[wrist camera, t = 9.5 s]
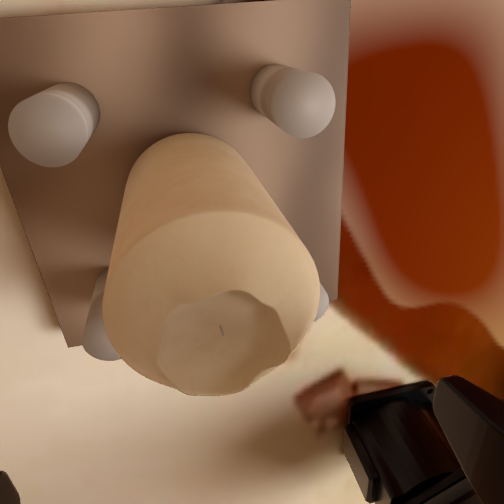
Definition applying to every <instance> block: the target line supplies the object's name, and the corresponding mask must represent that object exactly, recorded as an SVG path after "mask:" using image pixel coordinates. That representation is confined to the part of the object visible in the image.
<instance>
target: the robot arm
mask: <svg viewBox="0 0 504 504" xmlns="http://www.w3.org/2000/svg"><path fill="white" fill-rule="evenodd" d="M343 451H344V453H345V457H346V459H347V461H348V462H349V464H350V467H351V469H352V471H353V473H354V476H355V478H356V480H357V482H358V485H359V487H360V489H361V491H362V494H363V496H364V498H365V500H366V501H367V502H369V503H374V502H375V504H504V401H503V400H502V399H500V398H498V397H496V396H494V395H493V394H491V393H489V392H487V391H486V390H484V389H482V388H480V387H479V386H477V385H475V384H473V383H471V382H470V381H468V380H466V379H464V378H463V377H461V376H458V375H452V376H447V377H442V378H440V379H439V380H438V382H437V386H436V387H435V386H434V384H433V383H432V382H426V383H422V384H417V385H413V386H408V387H403V388H399V389H394V390H390V391H385V392H380V393H376V394H371V395H367V396H362V397H358V398H354V399H352V400H351V401H350V402H349V404H348V416H347V425H346V426H345V428H344V440H343ZM0 504H20V497H19V494H18V492H17V490H16V488H15V487H14V485H13V483H12V481H11V480H10V478H9V476H8V474H7V473H6V472H4V471H0Z"/></svg>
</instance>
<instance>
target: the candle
mask: <svg viewBox="0 0 504 504" xmlns="http://www.w3.org/2000/svg"><path fill="white" fill-rule="evenodd" d="M319 299H320V282H319V276H318V272H317V269H316V266H315V263H314V261H313V259H312V257H311V255H310V253H309V251H308V250H307V248H306V247H305V245H304V244H303V242H302V241H301V240H300V238H299V237H298V235H297V234H296V232H295V231H294V230H293V228H292V227H291V225H290V224H289V222H288V221H287V220H286V218H285V217H284V215H283V214H282V212H281V211H280V210H279V208H278V207H277V205H276V204H275V203H274V201H273V200H272V198H271V197H270V195H269V194H268V193H267V191H266V190H265V188H264V187H263V185H262V184H261V183H260V181H259V180H258V178H257V177H256V175H255V174H254V173H253V171H252V170H251V168H250V167H249V166H248V164H247V163H246V162H245V160H244V159H243V158H242V157H241V155H240V154H239V153H238V152H237V151H236V150H235V149H233V148H232V147H231V146H229V145H228V144H226V143H225V142H223V141H221V140H219V139H217V138H214V137H212V136H208V135H204V134H198V133H182V134H176V135H172V136H169V137H166V138H164V139H161V140H159V141H158V142H156V143H154V144H153V145H151V146H150V147H149V148H148V149H147V150H145V151H144V152H143V153H142V154H141V156H140V157H139V158H138V159H137V161H136V162H135V164H134V165H133V167H132V169H131V171H130V173H129V176H128V179H127V183H126V186H125V191H124V196H123V201H122V206H121V211H120V216H119V220H118V225H117V230H116V235H115V240H114V245H113V250H112V255H111V260H110V264H109V269H108V274H107V279H106V284H105V290H104V295H103V301H102V316H103V322H104V328H105V330H106V333H107V336H108V339H109V341H110V342H111V344H112V346H113V348H114V349H115V351H116V352H117V353H118V355H119V356H120V357H121V359H122V360H124V361H125V362H126V363H127V364H128V365H129V366H130V367H131V368H132V369H134V370H135V371H137V372H138V373H139V374H141V375H143V376H145V377H146V378H148V379H150V380H153V381H155V382H158V383H160V384H163V385H166V386H169V387H172V388H175V389H177V390H179V391H181V392H182V393H185V394H188V395H192V396H220V395H229V394H234V393H237V392H240V391H242V390H244V389H245V388H247V387H248V386H249V385H250V384H252V383H253V382H255V381H256V380H258V379H260V378H261V377H263V376H265V375H266V374H268V373H269V372H271V371H272V370H273V369H275V368H276V367H278V366H279V365H281V364H282V363H284V362H285V361H286V360H287V358H288V357H289V356H290V355H291V354H292V353H293V352H294V351H295V350H296V349H297V348H298V346H299V345H300V344H301V342H302V341H303V340H304V338H305V337H306V335H307V333H308V332H309V330H310V328H311V326H312V324H313V322H314V319H315V317H316V313H317V310H318V306H319Z"/></svg>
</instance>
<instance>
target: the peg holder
mask: <svg viewBox="0 0 504 504" xmlns="http://www.w3.org/2000/svg"><path fill="white" fill-rule="evenodd" d="M350 8H351V0H274V1H259V2H243V3H227V4H212V5H196V6H181V7H165V8H150V9H134V10H119V11H103V12H87V13H72V14H56V15H41V16H25V17H10V18H0V166H1V169H2V172H3V174H4V177H5V180H6V182H7V185H8V188H9V190H10V193H11V196H12V198H13V201H14V204H15V206H16V209H17V212H18V214H19V217H20V220H21V223H22V225H23V228H24V231H25V233H26V236H27V239H28V241H29V244H30V247H31V249H32V252H33V255H34V257H35V260H36V263H37V265H38V268H39V271H40V273H41V276H42V279H43V281H44V284H45V287H46V289H47V292H48V295H49V298H50V300H51V303H52V306H53V308H54V311H55V314H56V316H57V319H58V322H59V324H60V327H61V330H62V332H63V335H64V338H65V340H66V343H67V346H68V348H69V347H74V346H80V345H83V347H84V349H85V351H86V352H87V353H88V354H90V355H91V356H92V357H94V358H97V359H100V360H105V361H113V360H118V359H121V357H120V356H119V355H118V353H117V352H116V351H115V349H114V348H113V346H112V344H111V342H110V341H109V339H108V336H107V333H106V330H105V328H104V322H103V316H102V301H103V295H104V290H105V284H106V279H107V274H108V269H109V264H110V260H111V255H112V250H113V245H114V240H115V235H116V230H117V225H118V220H119V216H120V211H121V206H122V201H123V196H124V191H125V186H126V183H127V179H128V176H129V173H130V171H131V169H132V167H133V165H134V164H135V162H136V161H137V159H138V158H139V157H140V156H141V154H142V153H143V152H144V151H145V150H147V149H148V148H149V147H150V146H151V145H153V144H154V143H156V142H158V141H159V140H161V139H164V138H166V137H169V136H172V135H176V134H182V133H198V134H204V135H208V136H212V137H214V138H217V139H219V140H221V141H223V142H225V143H226V144H228V145H229V146H231V147H232V148H233V149H235V150H236V151H237V152H238V153H239V154H240V155H241V157H242V158H243V159H244V160H245V162H246V163H247V164H248V166H249V167H250V168H251V170H252V171H253V173H254V174H255V175H256V177H257V178H258V180H259V181H260V183H261V184H262V185H263V187H264V188H265V190H266V191H267V193H268V194H269V195H270V197H271V198H272V200H273V201H274V203H275V204H276V205H277V207H278V208H279V210H280V211H281V212H282V214H283V215H284V217H285V218H286V220H287V221H288V222H289V224H290V225H291V227H292V228H293V230H294V231H295V232H296V234H297V235H298V237H299V238H300V240H301V241H302V242H303V244H304V245H305V247H306V248H307V250H308V251H309V253H310V255H311V257H312V259H313V261H314V263H315V266H316V269H317V272H318V276H319V282H320V299H319V306H318V310H317V313H316V317H315V319H314V322H315V321H316V320H318V319H319V318H320V317H322V315H323V314H324V313H325V312H326V310H327V308H328V304H329V301H331V300H337V293H338V271H339V249H340V227H341V205H342V183H343V161H344V139H345V138H344V137H345V116H346V96H347V74H348V50H349V30H350Z"/></svg>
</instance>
